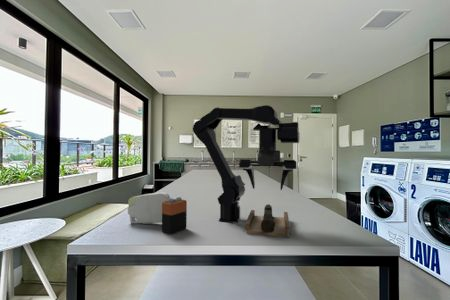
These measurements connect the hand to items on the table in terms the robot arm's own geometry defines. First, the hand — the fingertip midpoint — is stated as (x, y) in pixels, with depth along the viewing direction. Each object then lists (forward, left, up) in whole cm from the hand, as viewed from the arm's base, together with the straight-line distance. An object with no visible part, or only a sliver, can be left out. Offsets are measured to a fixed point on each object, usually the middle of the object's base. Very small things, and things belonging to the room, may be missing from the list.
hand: (267, 189), depth 77 cm
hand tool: (0, -2, -11) cm, 11 cm away
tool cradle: (0, -2, -12) cm, 12 cm away
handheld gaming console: (-39, -9, -12) cm, 42 cm away
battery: (-28, -13, -12) cm, 33 cm away
